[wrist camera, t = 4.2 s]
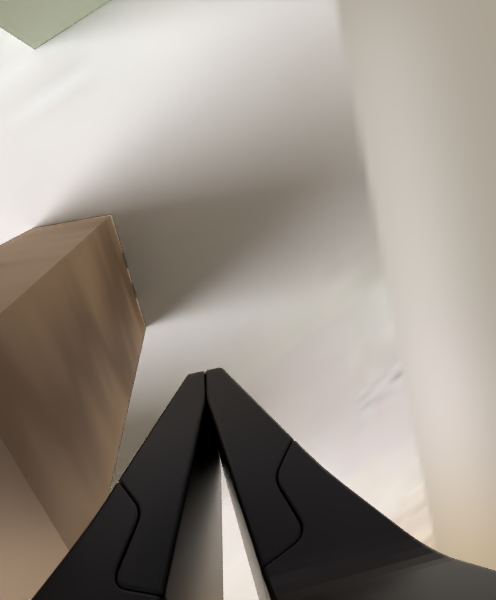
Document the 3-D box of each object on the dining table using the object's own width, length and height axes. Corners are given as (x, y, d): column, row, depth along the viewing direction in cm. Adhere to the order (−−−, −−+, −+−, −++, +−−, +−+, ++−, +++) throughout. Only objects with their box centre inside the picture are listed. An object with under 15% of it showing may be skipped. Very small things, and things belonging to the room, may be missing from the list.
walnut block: (145, 327, 18) (88, 583, 8) (79, 340, 18) (-81, 628, 7) (111, 214, 16) (-49, 356, 5) (32, 228, 16) (-316, 410, 5)
